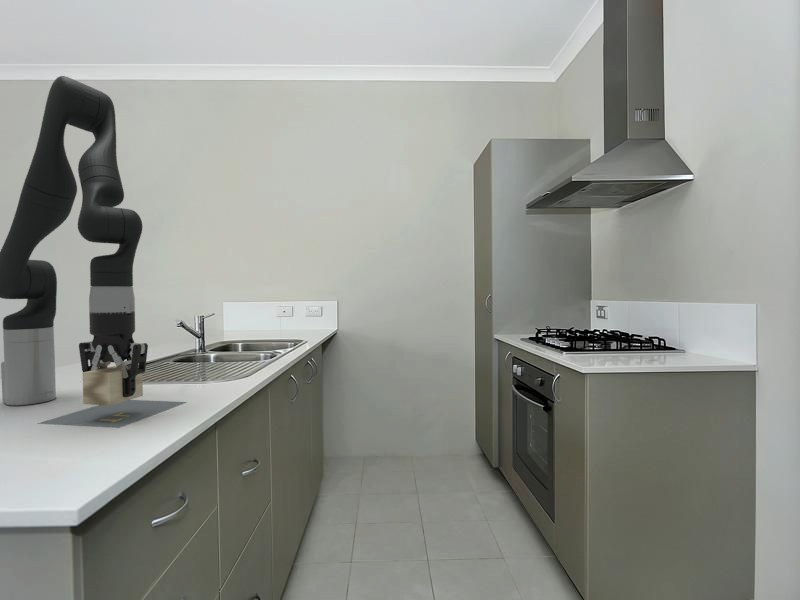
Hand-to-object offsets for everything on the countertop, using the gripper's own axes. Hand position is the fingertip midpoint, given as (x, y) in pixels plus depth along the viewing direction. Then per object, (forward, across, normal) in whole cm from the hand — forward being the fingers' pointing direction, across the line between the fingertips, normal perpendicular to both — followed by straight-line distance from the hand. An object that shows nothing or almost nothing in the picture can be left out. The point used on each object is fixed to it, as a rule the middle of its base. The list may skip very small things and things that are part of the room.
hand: (114, 395), depth 89 cm
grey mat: (+5, -2, +4) cm, 7 cm away
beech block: (+1, 0, 0) cm, 1 cm away
